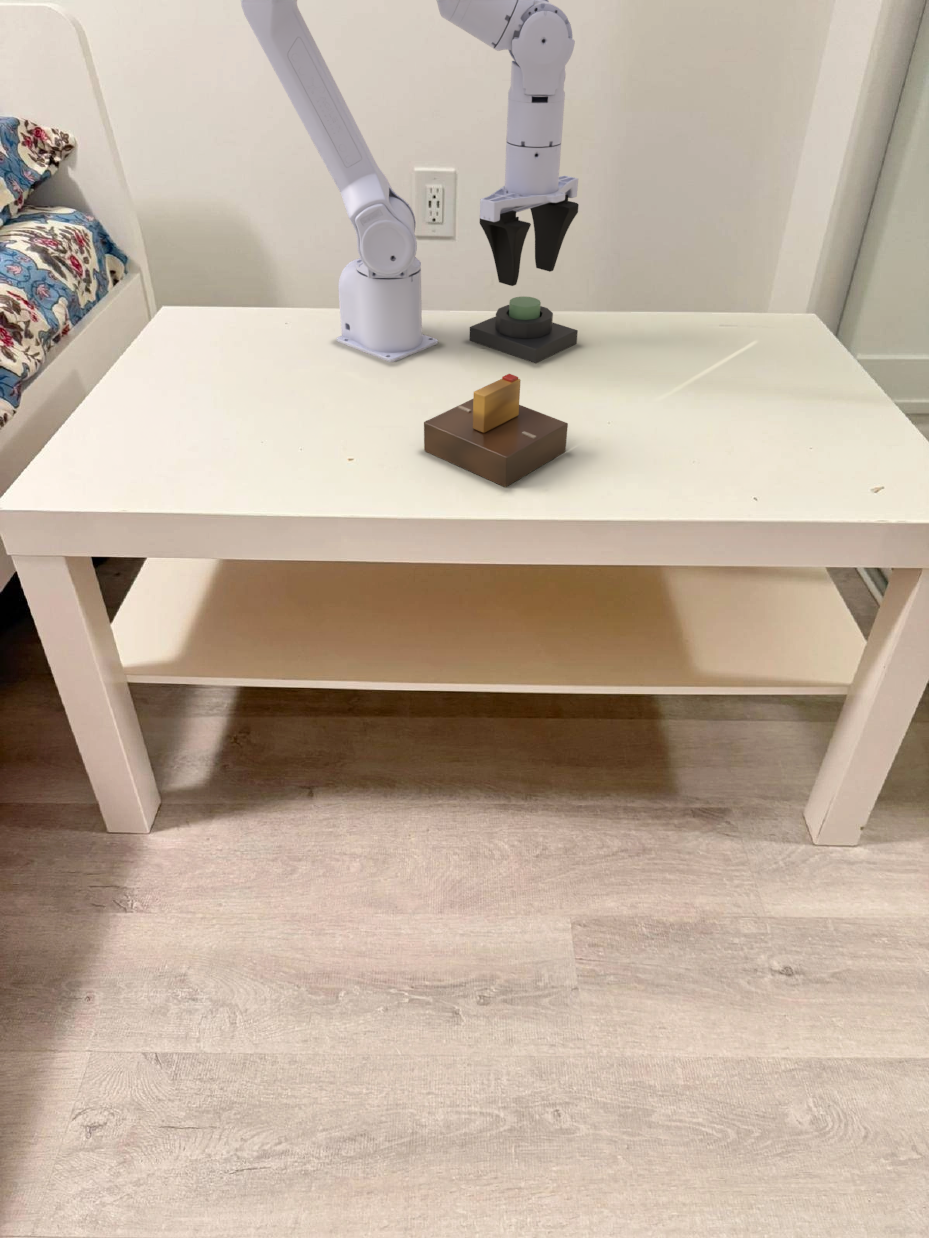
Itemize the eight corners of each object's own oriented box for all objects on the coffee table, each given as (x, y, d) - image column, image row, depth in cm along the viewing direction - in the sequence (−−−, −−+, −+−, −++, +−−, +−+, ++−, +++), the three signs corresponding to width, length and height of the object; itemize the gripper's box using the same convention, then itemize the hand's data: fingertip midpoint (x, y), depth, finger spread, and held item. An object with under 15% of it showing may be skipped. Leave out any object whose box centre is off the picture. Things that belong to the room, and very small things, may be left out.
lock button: (502, 317, 102) (503, 301, 101) (521, 309, 104) (522, 294, 103) (526, 324, 100) (527, 309, 99) (545, 316, 103) (546, 301, 102)
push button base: (469, 340, 105) (469, 311, 102) (511, 323, 109) (512, 294, 107) (535, 363, 100) (537, 333, 97) (576, 344, 104) (579, 314, 102)
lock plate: (423, 451, 83) (423, 420, 81) (485, 419, 88) (486, 390, 86) (505, 487, 78) (506, 456, 76) (565, 452, 83) (568, 421, 81)
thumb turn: (484, 433, 80) (485, 393, 77) (472, 428, 80) (473, 389, 78) (518, 415, 82) (521, 376, 80) (507, 411, 83) (509, 372, 81)
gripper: (520, 159, 85) (513, 300, 93) (605, 137, 93) (592, 269, 102) (465, 148, 88) (463, 285, 97) (552, 128, 97) (544, 256, 105)
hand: (526, 276), depth 100 cm, fingers open, 6 cm apart
